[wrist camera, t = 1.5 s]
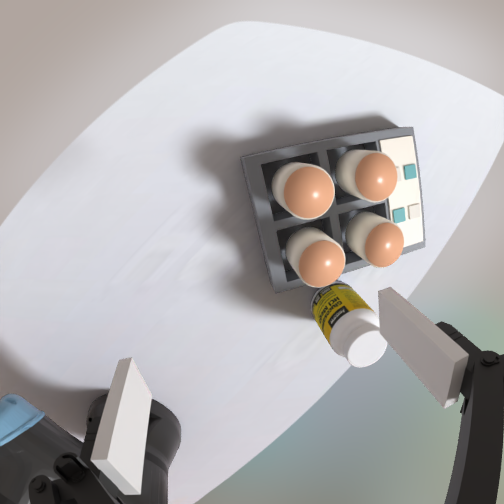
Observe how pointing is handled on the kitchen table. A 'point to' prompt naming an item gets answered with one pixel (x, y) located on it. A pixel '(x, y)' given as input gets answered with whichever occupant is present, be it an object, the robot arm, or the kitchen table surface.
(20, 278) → the kitchen table surface
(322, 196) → the button
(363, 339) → the pill bottle
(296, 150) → the board
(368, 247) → the button
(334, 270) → the button
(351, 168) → the button
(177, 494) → the kitchen table surface
